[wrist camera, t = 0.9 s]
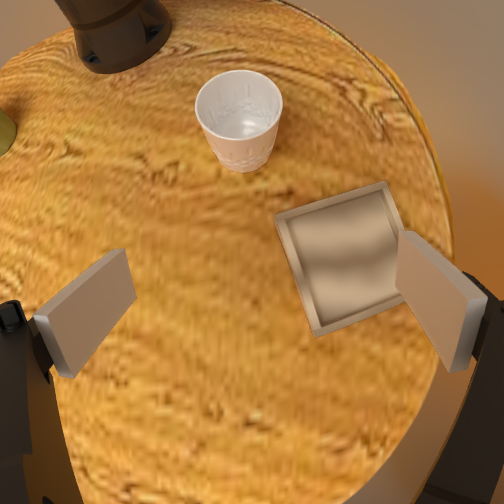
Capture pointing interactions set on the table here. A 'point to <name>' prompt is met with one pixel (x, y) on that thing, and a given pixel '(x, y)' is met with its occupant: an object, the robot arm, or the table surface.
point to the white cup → (240, 118)
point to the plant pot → (6, 132)
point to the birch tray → (343, 256)
